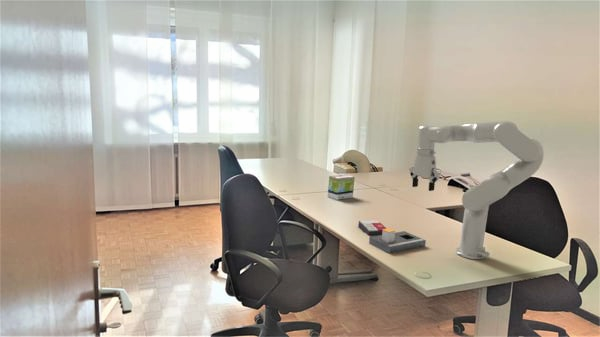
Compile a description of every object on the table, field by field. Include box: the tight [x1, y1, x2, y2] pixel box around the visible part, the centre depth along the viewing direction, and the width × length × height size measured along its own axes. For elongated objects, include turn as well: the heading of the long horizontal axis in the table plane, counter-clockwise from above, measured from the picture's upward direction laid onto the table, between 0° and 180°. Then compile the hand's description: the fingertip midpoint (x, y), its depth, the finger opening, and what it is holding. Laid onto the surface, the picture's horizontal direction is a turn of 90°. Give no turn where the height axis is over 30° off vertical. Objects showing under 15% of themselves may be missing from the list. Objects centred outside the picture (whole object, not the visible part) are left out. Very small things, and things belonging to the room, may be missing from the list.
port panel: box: [368, 230, 427, 255], centre depth 197 cm, size 14×22×4 cm, turn 120°
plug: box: [382, 227, 396, 243], centre depth 194 cm, size 4×4×8 cm
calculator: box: [357, 219, 388, 237], centre depth 217 cm, size 11×4×15 cm
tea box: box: [327, 173, 355, 201], centre depth 283 cm, size 15×10×15 cm
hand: (423, 188), depth 199 cm, fingers open, 9 cm apart
